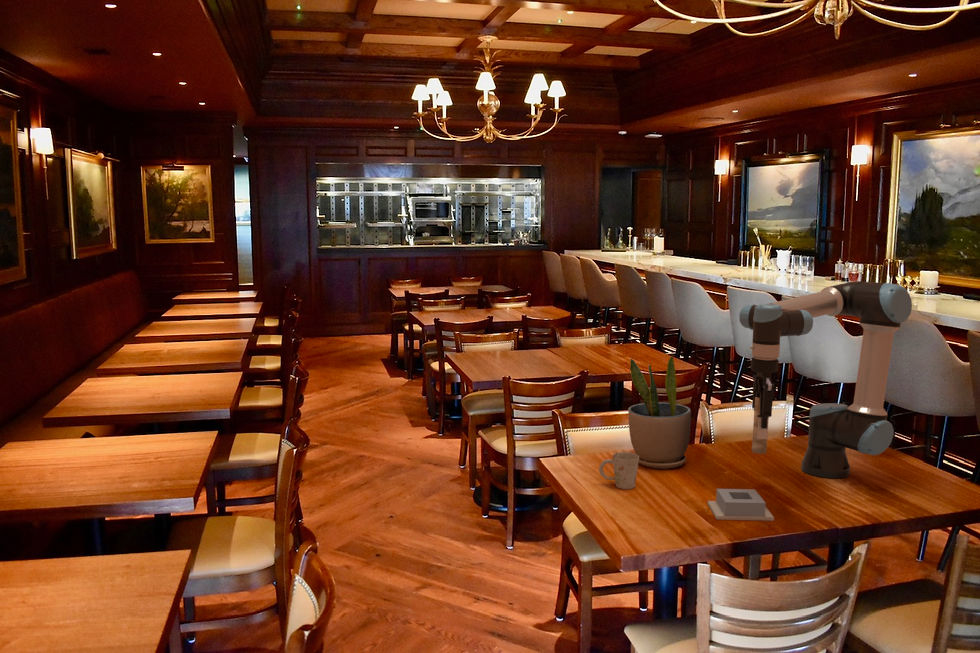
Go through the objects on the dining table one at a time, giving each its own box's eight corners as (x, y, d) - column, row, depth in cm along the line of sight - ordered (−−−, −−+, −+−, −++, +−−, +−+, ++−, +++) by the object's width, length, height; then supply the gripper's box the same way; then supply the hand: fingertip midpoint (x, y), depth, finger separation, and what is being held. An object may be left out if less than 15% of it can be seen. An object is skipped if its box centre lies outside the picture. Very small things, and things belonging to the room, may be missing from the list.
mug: (638, 491, 249) (638, 460, 247) (597, 488, 251) (598, 458, 250) (638, 482, 257) (639, 452, 255) (599, 480, 259) (600, 450, 258)
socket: (762, 505, 237) (762, 489, 236) (773, 520, 225) (774, 503, 224) (707, 504, 238) (708, 488, 237) (716, 519, 226) (717, 502, 225)
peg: (764, 450, 235) (767, 397, 233) (767, 453, 231) (771, 400, 229) (750, 449, 235) (753, 396, 233) (753, 453, 231) (757, 399, 229)
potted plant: (614, 461, 278) (616, 349, 272) (653, 449, 292) (656, 342, 286) (663, 476, 262) (666, 357, 256) (701, 463, 276) (706, 350, 270)
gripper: (744, 352, 238) (739, 428, 241) (759, 362, 221) (754, 444, 224) (769, 353, 237) (764, 429, 240) (787, 363, 221) (781, 445, 224)
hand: (760, 436), depth 232 cm, fingers closed on peg, 4 cm apart
